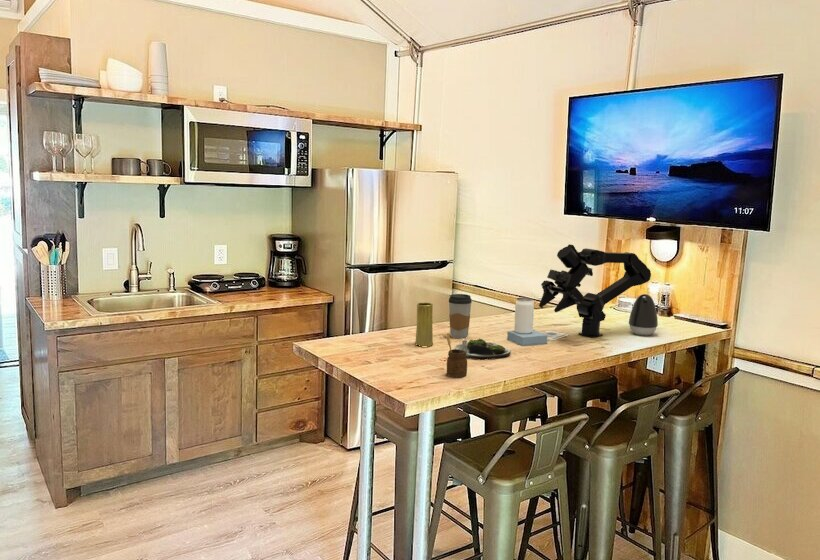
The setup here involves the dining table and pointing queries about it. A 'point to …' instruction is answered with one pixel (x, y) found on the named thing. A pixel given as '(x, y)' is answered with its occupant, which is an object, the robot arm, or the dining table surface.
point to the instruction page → (554, 335)
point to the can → (524, 315)
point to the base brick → (527, 338)
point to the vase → (424, 324)
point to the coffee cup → (459, 315)
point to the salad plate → (483, 350)
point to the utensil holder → (456, 361)
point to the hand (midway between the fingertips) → (547, 309)
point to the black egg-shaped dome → (643, 316)
